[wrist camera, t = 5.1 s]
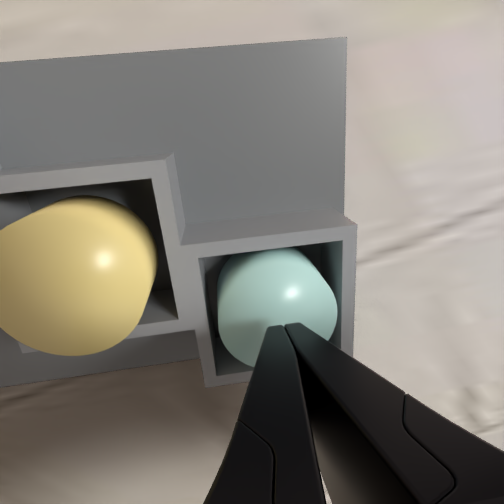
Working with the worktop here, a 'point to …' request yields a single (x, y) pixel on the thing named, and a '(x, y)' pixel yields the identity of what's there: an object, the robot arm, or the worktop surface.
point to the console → (185, 179)
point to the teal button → (270, 298)
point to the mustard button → (75, 275)
